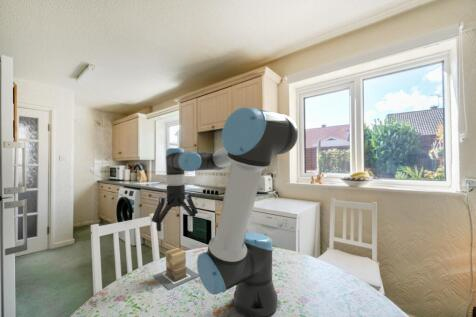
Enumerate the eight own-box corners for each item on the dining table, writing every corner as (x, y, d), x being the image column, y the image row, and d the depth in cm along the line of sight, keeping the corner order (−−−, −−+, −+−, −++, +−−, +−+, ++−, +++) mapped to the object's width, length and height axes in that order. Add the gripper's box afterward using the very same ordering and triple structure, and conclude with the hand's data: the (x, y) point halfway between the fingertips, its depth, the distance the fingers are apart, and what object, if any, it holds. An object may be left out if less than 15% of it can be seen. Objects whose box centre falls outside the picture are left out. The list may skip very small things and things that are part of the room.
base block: (186, 276, 91) (186, 267, 91) (175, 281, 88) (175, 271, 88) (176, 269, 97) (176, 261, 97) (166, 274, 94) (166, 264, 94)
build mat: (199, 276, 92) (199, 275, 92) (168, 290, 83) (168, 289, 83) (182, 265, 102) (182, 264, 102) (153, 276, 93) (153, 275, 93)
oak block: (185, 265, 93) (185, 251, 93) (172, 270, 88) (172, 256, 89) (178, 261, 97) (178, 247, 97) (165, 265, 93) (165, 251, 93)
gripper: (195, 181, 104) (196, 226, 104) (142, 186, 87) (143, 240, 86) (204, 182, 99) (205, 229, 98) (150, 187, 81) (150, 244, 81)
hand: (176, 234), depth 92 cm, fingers open, 13 cm apart
